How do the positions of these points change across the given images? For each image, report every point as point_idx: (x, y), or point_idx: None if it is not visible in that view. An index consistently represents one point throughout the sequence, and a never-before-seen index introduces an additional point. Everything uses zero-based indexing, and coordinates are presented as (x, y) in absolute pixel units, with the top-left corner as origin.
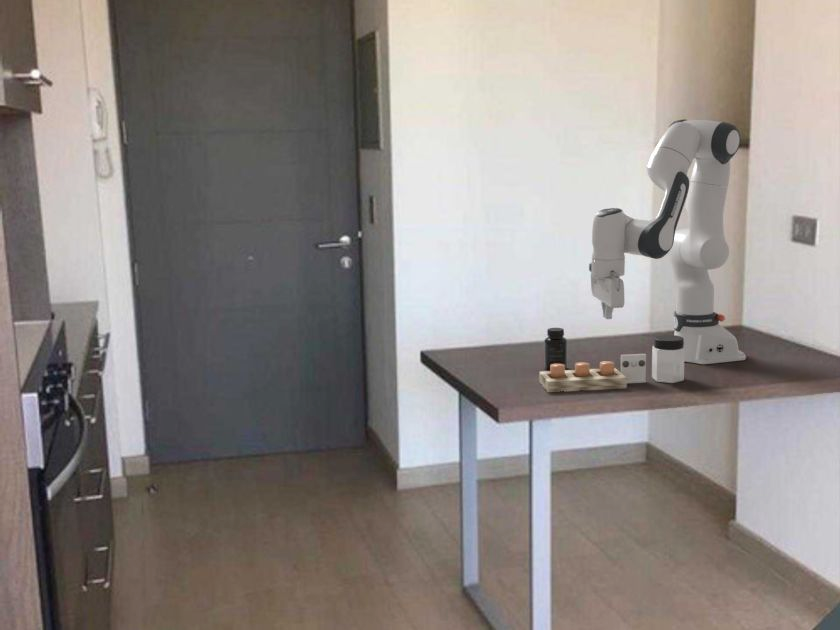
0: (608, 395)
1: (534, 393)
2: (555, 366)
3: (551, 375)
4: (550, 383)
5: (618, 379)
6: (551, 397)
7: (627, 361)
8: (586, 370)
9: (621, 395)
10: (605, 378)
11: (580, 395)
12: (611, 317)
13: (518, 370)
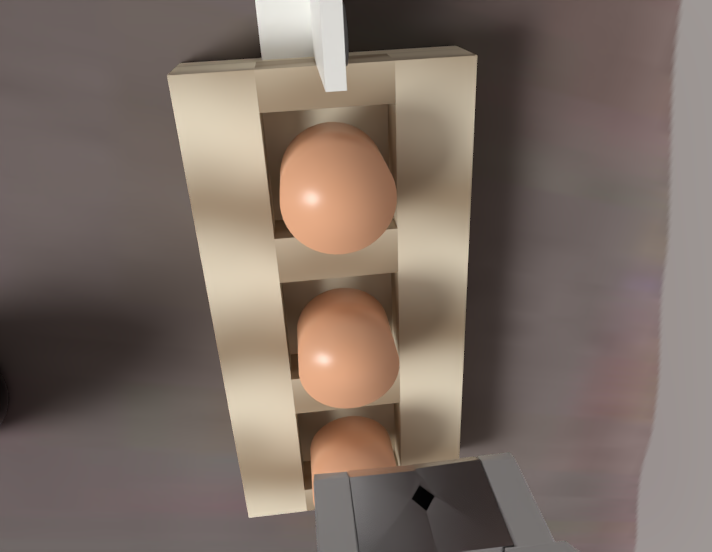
0: (574, 192)
1: None
2: None
3: None
4: None
5: (471, 118)
6: (527, 443)
7: (345, 21)
8: (389, 330)
9: (598, 118)
10: (463, 208)
11: (531, 327)
12: (516, 469)
13: (13, 543)
